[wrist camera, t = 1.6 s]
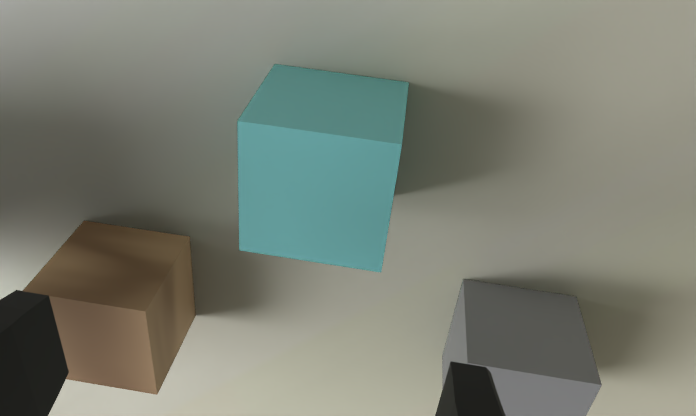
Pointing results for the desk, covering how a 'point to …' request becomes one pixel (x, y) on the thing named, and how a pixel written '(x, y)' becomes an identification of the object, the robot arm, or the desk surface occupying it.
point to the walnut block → (120, 303)
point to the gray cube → (525, 348)
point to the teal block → (320, 166)
